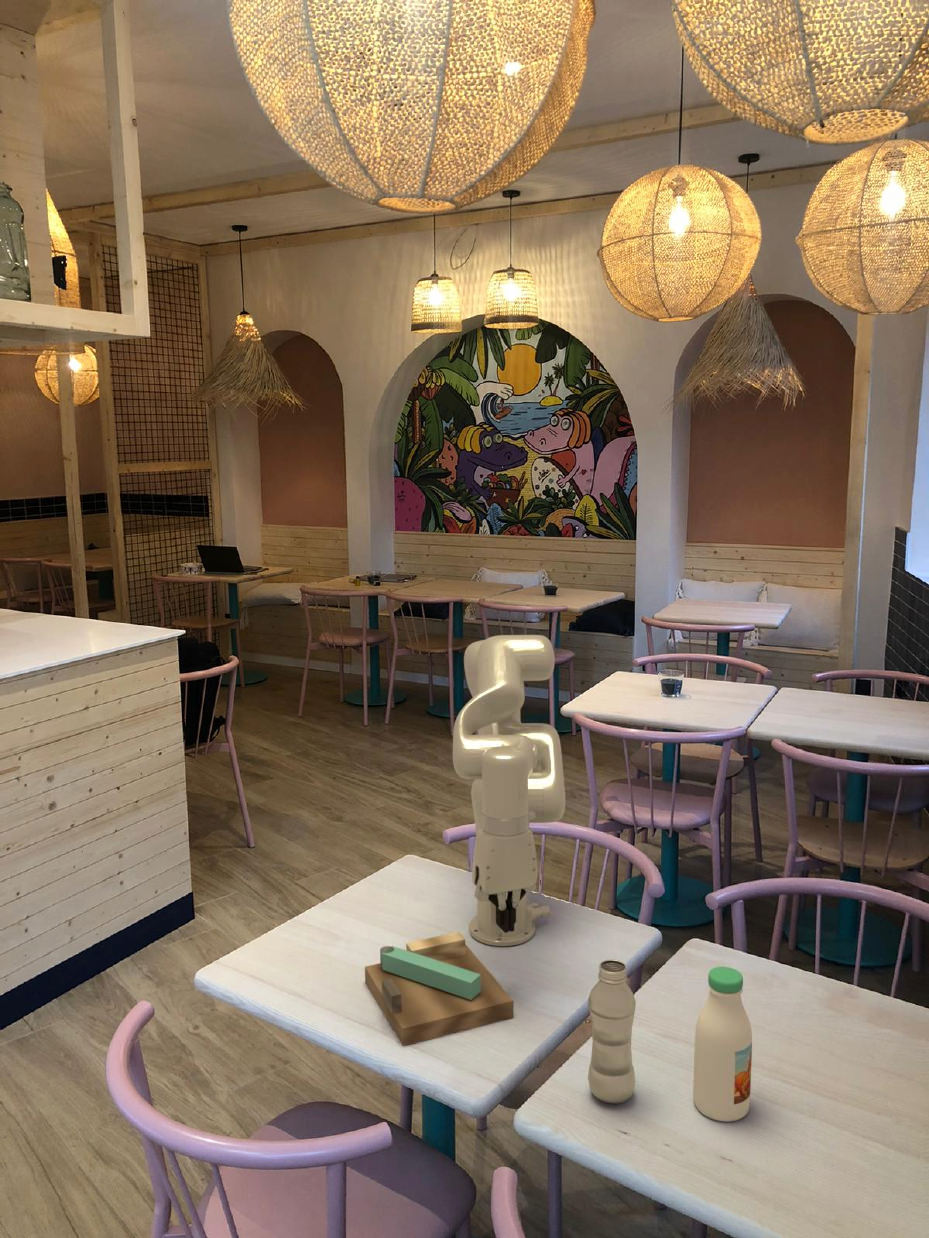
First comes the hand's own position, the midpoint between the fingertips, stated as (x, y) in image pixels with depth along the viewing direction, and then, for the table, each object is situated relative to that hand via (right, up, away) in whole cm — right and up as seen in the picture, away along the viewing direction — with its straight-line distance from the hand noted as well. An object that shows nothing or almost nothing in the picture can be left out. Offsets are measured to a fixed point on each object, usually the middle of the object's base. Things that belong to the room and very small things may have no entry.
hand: (505, 928), depth 162 cm
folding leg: (-13, -9, +2) cm, 16 cm away
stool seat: (-12, -13, +2) cm, 17 cm away
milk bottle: (+29, -17, -25) cm, 42 cm away
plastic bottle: (+14, -17, -22) cm, 31 cm away
